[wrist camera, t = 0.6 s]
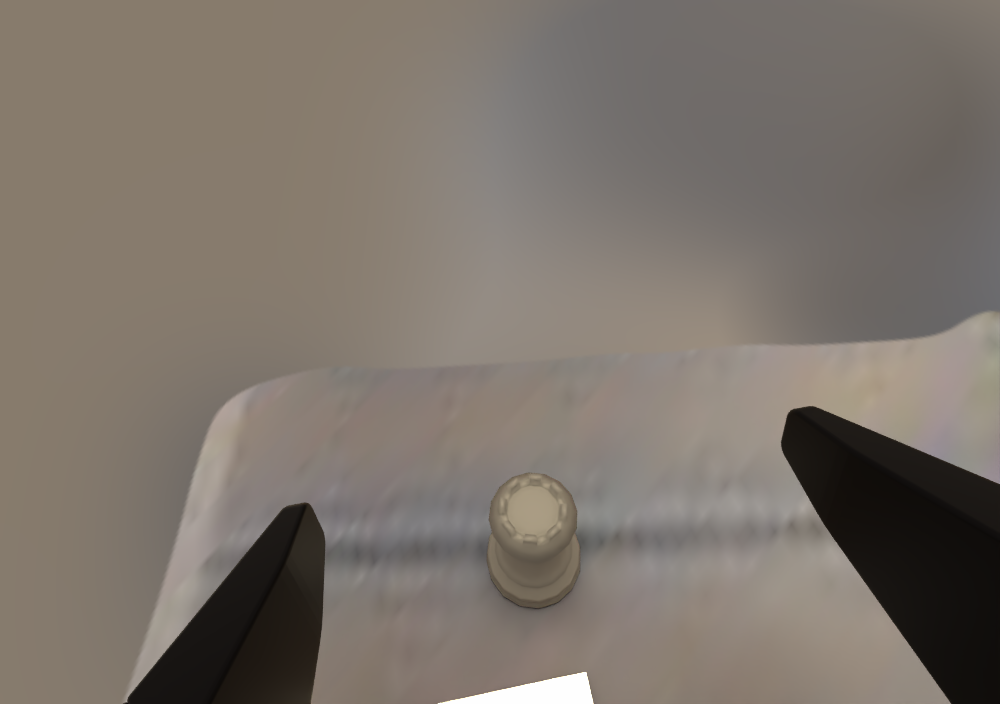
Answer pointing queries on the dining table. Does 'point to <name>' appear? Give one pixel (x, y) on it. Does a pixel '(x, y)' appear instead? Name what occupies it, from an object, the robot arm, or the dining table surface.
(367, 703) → the dining table surface
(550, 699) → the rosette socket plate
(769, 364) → the dining table surface
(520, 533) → the rook chess piece
